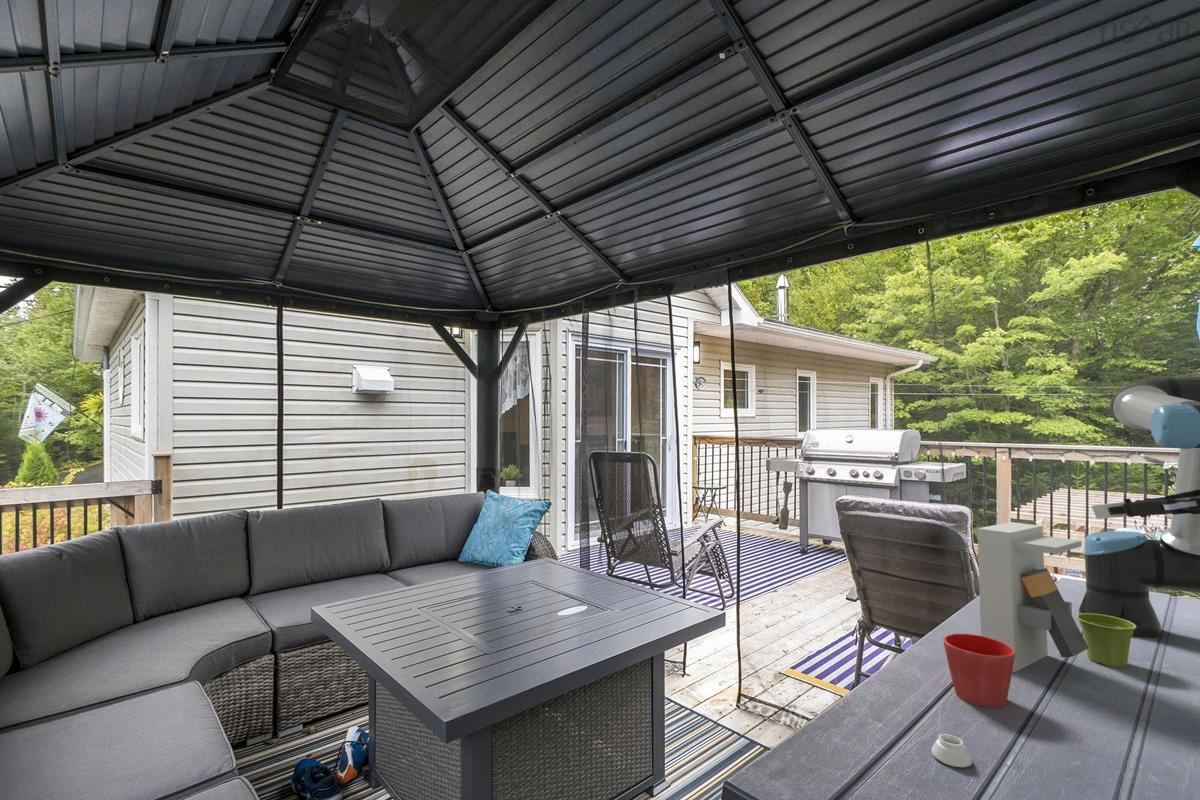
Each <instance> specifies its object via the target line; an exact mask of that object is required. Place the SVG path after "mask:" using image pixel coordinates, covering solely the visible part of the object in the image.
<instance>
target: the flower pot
mask: <svg viewBox="0 0 1200 800" xmlns="http://www.w3.org/2000/svg"><path fill="white" fill-rule="evenodd" d="M942 641H943V645H944V651H945V656H946V660H947V664H948V668H949V673H950V676H951V680H952V684H953V687H954V692H955V694H956V696H958V697H959V698H960V699H962V700H963V701H965V702H968V703H971V704H973V705H976V706H980V707H988V708H1002V707H1004V706H1006V703H1007V701H1008V696H1009V692H1010V686H1011V681H1012V675H1013V665H1014V660H1015V651H1014V649H1013V648H1012V647H1010V646H1009V645H1007V644H1005V643H1003V642H1001V641H998V640H995V639H992V638H988V637H984V636H981V635H979V634H973V633H950V634H947V635H945V636H943V640H942Z"/></svg>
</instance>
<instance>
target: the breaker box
mask: <svg viewBox="0 0 1200 800" xmlns="http://www.w3.org/2000/svg"><path fill="white" fill-rule="evenodd" d="M1043 532H1044V531H1043V525H1039V524H1029V523H1021V522H1014V521H1009V522H1004V523H998V524H994V525H988V526H984V527H978V528H977V547H978V548H977V552H978V553H977V555H978V578H979V586H978V588H979V607H980V608H979V613H980V636H984V637H988V638H992V639H995V640H998V641H1001V642H1003V643H1005V644H1007V645H1009V646H1010V647H1012V648H1013V649H1014V651H1015V660H1014V665H1013V671H1012V673H1016V672H1019V671H1020V670H1022V669H1025V668H1026V667H1028V666H1030V665H1032V664H1034V663H1036V662H1038V661H1039V660H1042V659H1044V658H1045V657H1047V656H1048V653H1049V652H1048V651H1049V650H1048V634H1047V633H1048V630H1050V629H1052V624H1051V611H1049V610H1044V609H1040V608H1037V607H1036V605H1035V603H1034V601H1033V599H1032V597H1031V596H1030V594H1029V592H1028V590H1027V588H1026V586H1025V584H1024V582H1023V580H1022V578H1021V576H1020V575H1022V574H1025V573H1029V572H1032V571H1035V570H1039V569H1044V568H1045V559H1044V557H1045V556H1044V555H1045V553H1047V554H1048V553H1049V554H1055V555H1058V554H1061V553H1064V552H1068V551H1071V550H1075V549H1079V548H1081V547H1083V546H1082V545H1083V543H1082V540H1079V539H1070V538H1063V537H1057V536H1056V537H1054V536H1048V535H1044V533H1043ZM1064 602H1065V604H1066V606H1067V608H1068V609H1069V611H1070V613H1071V615H1072V616H1073V612H1072V609H1073V606H1072V602H1070V601H1066V600H1064Z"/></svg>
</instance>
